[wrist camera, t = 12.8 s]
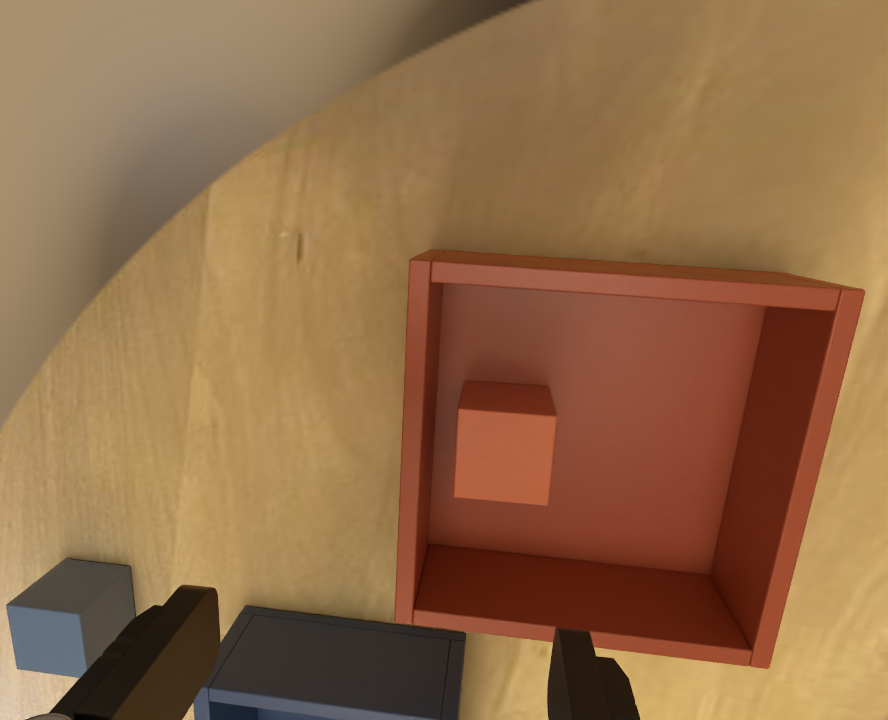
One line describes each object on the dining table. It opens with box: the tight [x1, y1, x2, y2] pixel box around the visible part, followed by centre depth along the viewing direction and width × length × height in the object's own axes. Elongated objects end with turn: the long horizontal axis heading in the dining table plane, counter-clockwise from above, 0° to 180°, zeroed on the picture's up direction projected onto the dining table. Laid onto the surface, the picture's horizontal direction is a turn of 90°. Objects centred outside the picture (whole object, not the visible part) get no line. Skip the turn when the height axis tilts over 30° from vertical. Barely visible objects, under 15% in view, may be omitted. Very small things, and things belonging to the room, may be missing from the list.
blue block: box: [6, 559, 135, 678], centre depth 30 cm, size 4×4×4 cm
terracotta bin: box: [395, 250, 865, 669], centre depth 24 cm, size 16×16×6 cm
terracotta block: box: [453, 381, 558, 506], centre depth 25 cm, size 4×4×4 cm
